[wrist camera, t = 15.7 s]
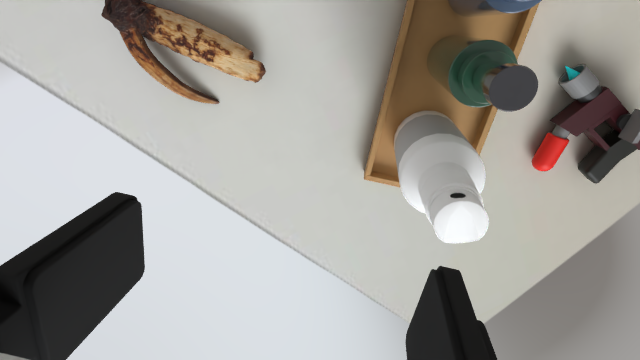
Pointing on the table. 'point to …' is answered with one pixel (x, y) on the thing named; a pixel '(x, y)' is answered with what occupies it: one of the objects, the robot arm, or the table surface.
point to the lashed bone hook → (178, 44)
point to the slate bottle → (490, 7)
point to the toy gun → (590, 126)
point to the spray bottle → (441, 176)
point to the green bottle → (481, 73)
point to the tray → (422, 89)
